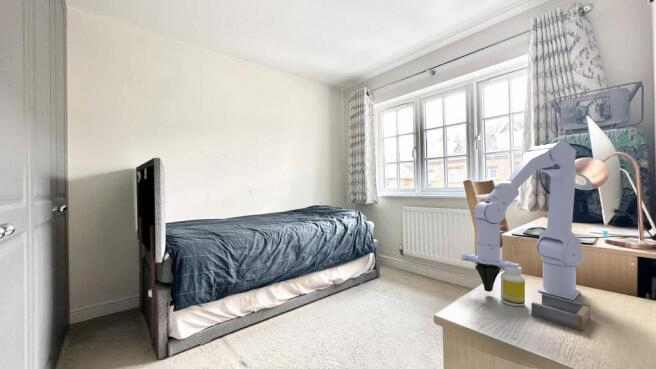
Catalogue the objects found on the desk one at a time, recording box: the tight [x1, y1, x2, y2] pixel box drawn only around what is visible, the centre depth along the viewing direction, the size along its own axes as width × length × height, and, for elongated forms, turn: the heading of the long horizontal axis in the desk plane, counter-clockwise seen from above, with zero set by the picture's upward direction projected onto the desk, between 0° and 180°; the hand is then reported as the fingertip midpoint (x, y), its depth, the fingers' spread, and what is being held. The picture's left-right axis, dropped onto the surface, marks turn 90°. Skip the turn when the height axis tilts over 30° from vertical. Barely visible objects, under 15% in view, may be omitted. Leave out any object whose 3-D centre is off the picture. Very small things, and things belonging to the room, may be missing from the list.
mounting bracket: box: [530, 293, 591, 332], centre depth 65 cm, size 9×9×3 cm
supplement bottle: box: [500, 266, 526, 307], centre depth 73 cm, size 5×5×10 cm
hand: (488, 290), depth 77 cm, fingers closed
